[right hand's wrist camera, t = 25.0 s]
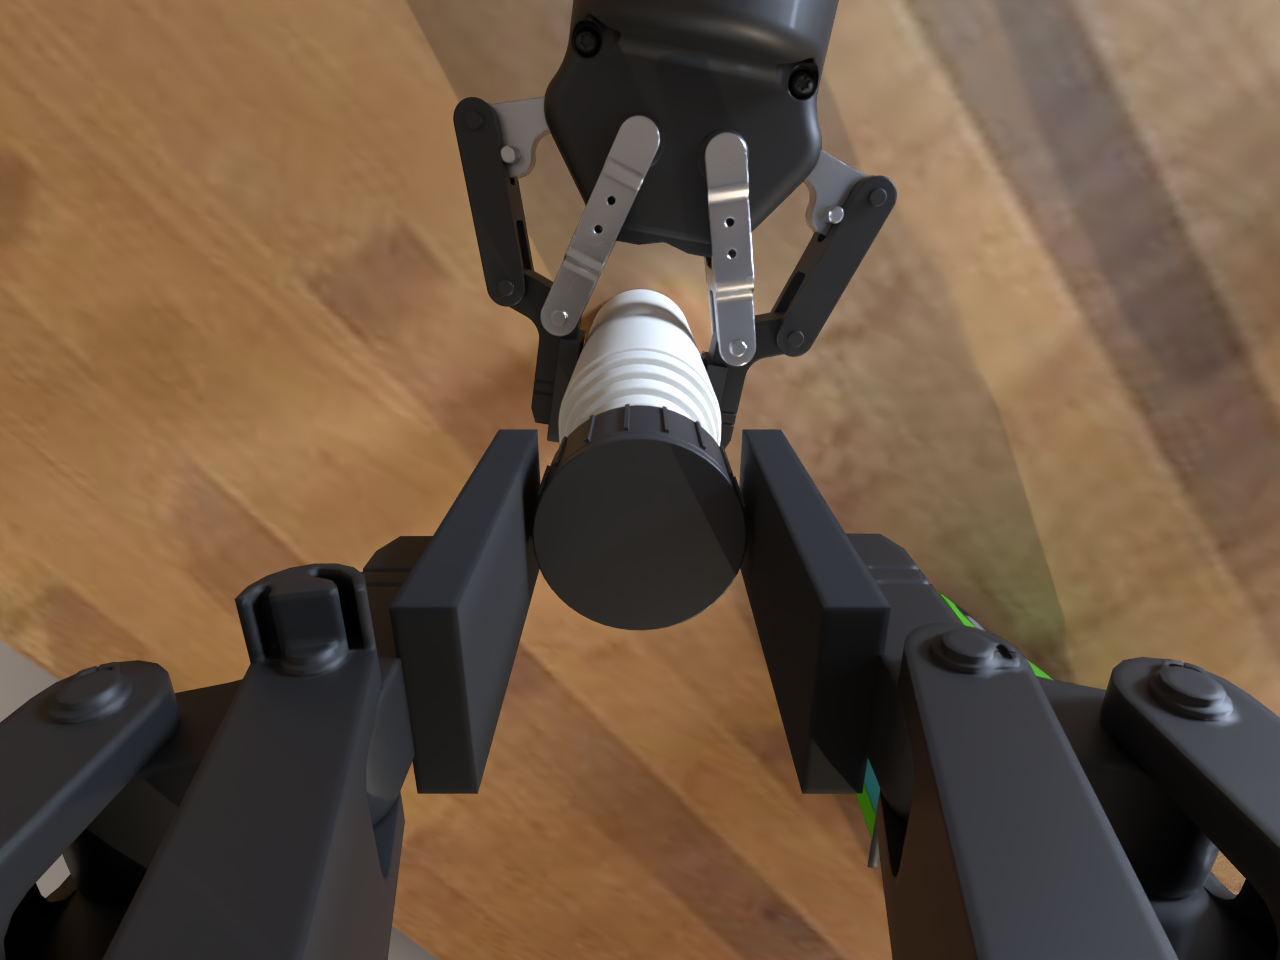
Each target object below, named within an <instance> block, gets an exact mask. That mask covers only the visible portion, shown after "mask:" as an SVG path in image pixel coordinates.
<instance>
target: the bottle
mask: <svg viewBox="0 0 1280 960" xmlns="http://www.w3.org/2000/svg"><path fill="white" fill-rule="evenodd" d="M625 404H630V406H634V405H646V406H655V407H661V408H662V406H665V407H667V409H668V410H672V411H675V412H677V413H679V414H682V415H684V416H686V417H688V418H689V419H691V420H693V421H694V422H696V421H698V422H700V425H701V427H702V428H704V429H705V430H706V431H707V432H708V433H709V434H710V435H711V436H712V437H713V438H714V440H715V441H716V442H717V444H718V445H719V446H720V441H721V414H720V408H719V404H718V401H717V398H716V395H715V393H714V390H713V388H712V385H711V383H710V380H709V377H708V375H707V372H706V370H705V367H704V365H703V362H702V359H701V357H700V354H699V352H698V349H697V347H696V344H695V342H694V339H693V336H692V334H691V331H690V329H689V326H688V324H687V321H686V319H685V317H684V315H683V313H682V311H681V310H680V309H679V307H678V306H677V305H676V304H675V303H674V302H673V301H672V300H670V299H669V298H668V297H666V296H664V295H662V294H660V293H658V292H655V291H651V290H645V289H635V290H629V291H625V292H622V293H620V294H618V295H616V296H614V297H613V298H611V299H610V300H609V301H607V302H606V303H605V304H604V305H603V306H602V307H601V309H600V310H599V312H598V313H597V315H596V317H595V319H594V321H593V324H592V326H591V329H590V331H589V334H588V336H587V339H586V341H585V344H584V346H583V349H582V351H581V354H580V357H579V359H578V362H577V364H576V367H575V369H574V372H573V374H572V377H571V379H570V382H569V384H568V387H567V390H566V392H565V395H564V397H563V400H562V403H561V407H560V412H559V422H558V424H559V443H560V445H561V442H562V439H563V437H564V436H566V437H568V436H569V434H571V433H572V432H573V431H574V430H575V429H576V428H577V427H578V426H579V425H581V424H582V423H584V422H585V421H587V420H588V419H589V418H590V416H591V415H593V414H594V416H596V415H598V414H600V413H602V412H605V411H608V410H611V409H615V408H619V407H623V406H625Z"/></svg>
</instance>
